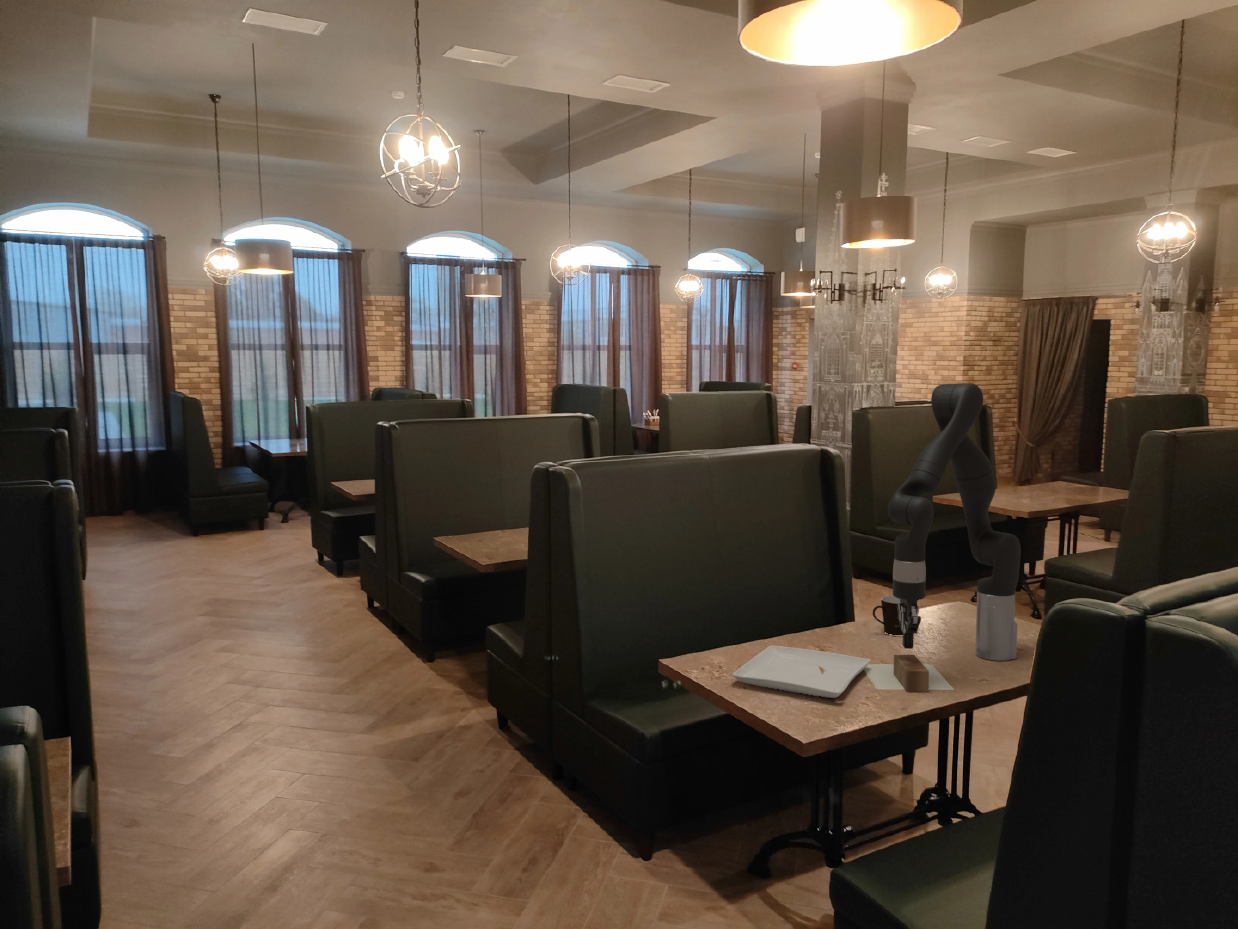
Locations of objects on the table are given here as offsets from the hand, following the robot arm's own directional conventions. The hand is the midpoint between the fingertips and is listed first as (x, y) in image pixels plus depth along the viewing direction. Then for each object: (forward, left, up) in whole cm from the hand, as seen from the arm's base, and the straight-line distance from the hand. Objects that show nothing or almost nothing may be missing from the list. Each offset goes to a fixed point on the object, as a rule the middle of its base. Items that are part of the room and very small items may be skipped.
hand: (907, 647), depth 211 cm
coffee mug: (-6, -40, -9) cm, 41 cm away
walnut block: (0, -3, -5) cm, 6 cm away
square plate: (+25, -2, -9) cm, 27 cm away
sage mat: (0, -2, -8) cm, 9 cm away
